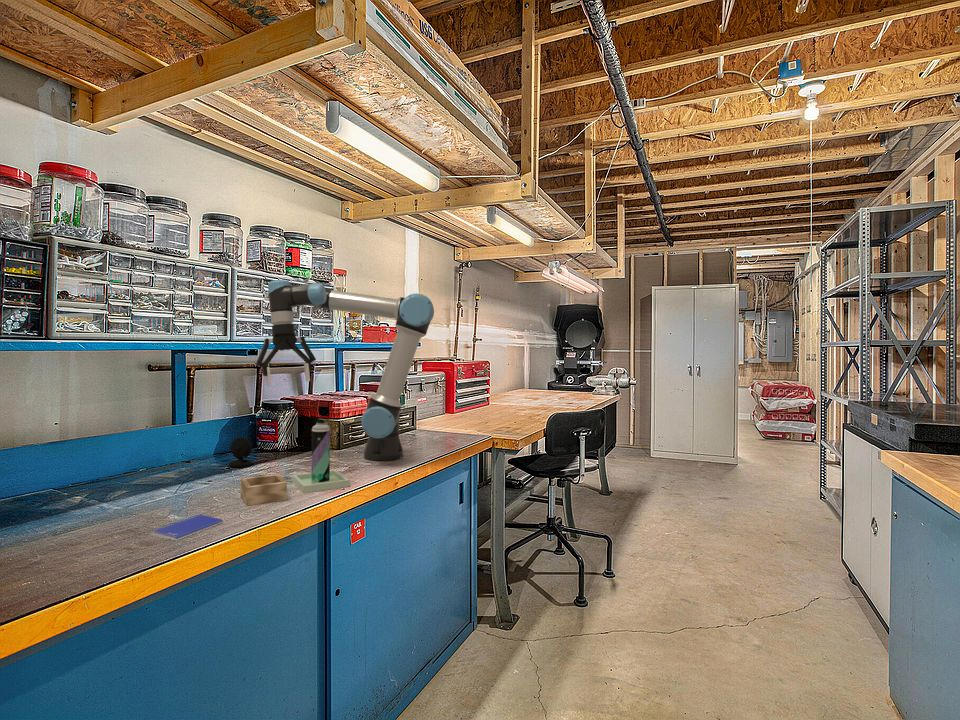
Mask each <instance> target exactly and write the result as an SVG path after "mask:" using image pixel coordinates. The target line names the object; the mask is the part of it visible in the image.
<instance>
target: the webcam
mask: <svg viewBox="0 0 960 720" xmlns="http://www.w3.org/2000/svg"><path fill="white" fill-rule="evenodd" d="M252 450H253V444H252V442H251V441H250V440H249V439H248V438H247V437H244V436H239V437H236V438H235V439H233V440H232V442H231V443H230V452H231V454H232V456H233V457H234V458H236V459H235V460H231V461H229V462H228V466H229V467H231V468H232V467H233V468H245V467H250V466H252V465H253V461H252V460H249V459H246V458H247V457H249V456H250V455H251V454H252V452H253V451H252Z"/></svg>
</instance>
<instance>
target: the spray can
mask: <svg viewBox="0 0 960 720" xmlns="http://www.w3.org/2000/svg"><path fill="white" fill-rule="evenodd" d="M330 427H331V426H330V425H328V424H327V423H326V421H325V419H324V418H318V420H317V422H316V424H315V425H313V426H312V428H311V461H310V462H311V468H310V469H311V471H310V473H311V483H312V484H317V483H324V482H329V478H330V471H331V468H330V467H331V466H330V465H331V463H330V460H331V459H330V458H331V428H330Z"/></svg>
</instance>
